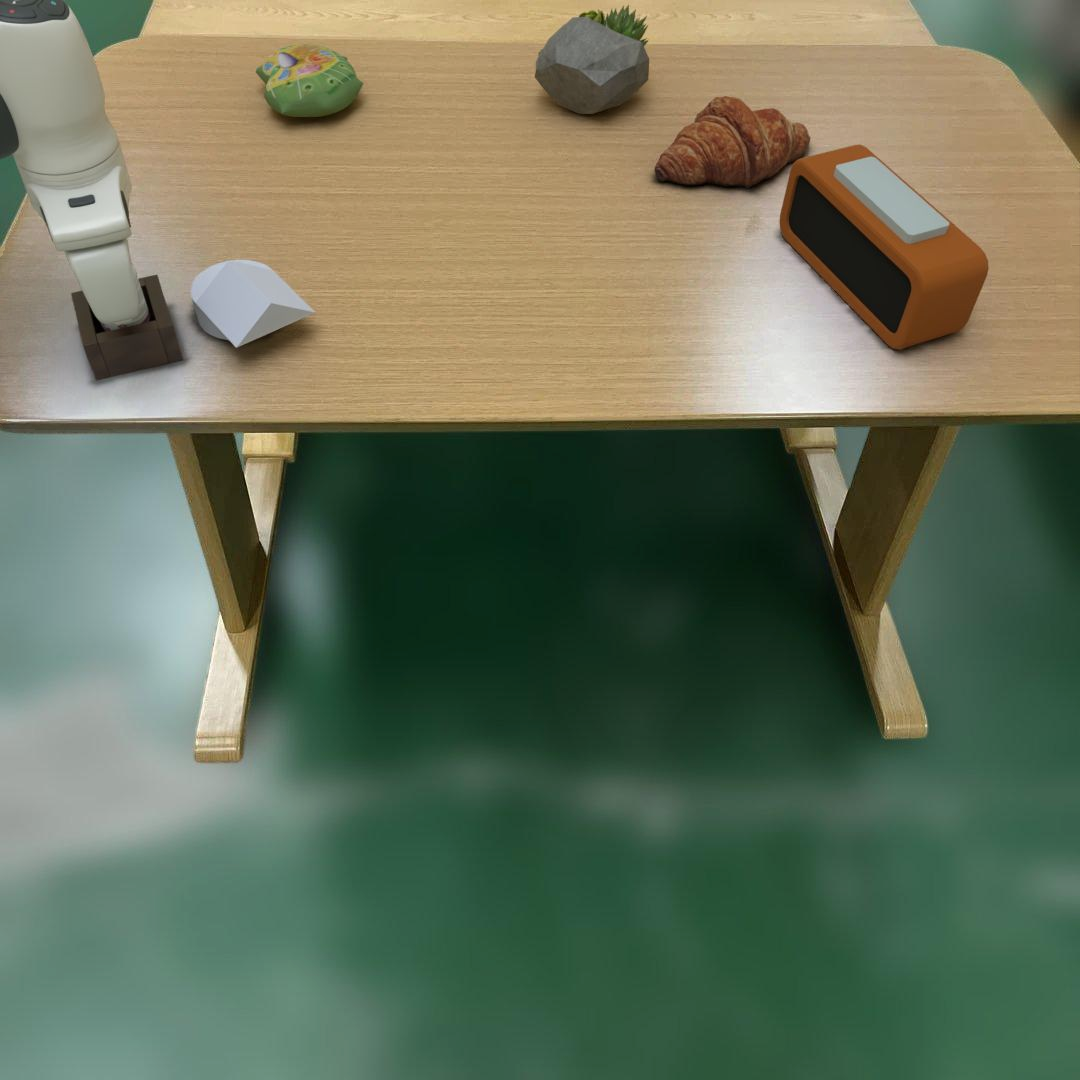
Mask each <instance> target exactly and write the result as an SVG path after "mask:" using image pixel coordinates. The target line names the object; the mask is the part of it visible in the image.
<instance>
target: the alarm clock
mask: <svg viewBox="0 0 1080 1080" xmlns="http://www.w3.org/2000/svg"><path fill="white" fill-rule="evenodd" d="M779 214H780V215H779V229H780V231H781V234H782V237H783V238H784V239H785V241H786V242H787V243H788V244H789V245H790V246H791V247H792V248H793V249H794V250H795V251H796V253H798V254H799V255H800V256H801V257H802V259H804V260H805V262H807V263H808V264H809V265H810V266H811V268H813V270H814V271H815V272H816V273H817V274H818V275H819V276H820V278H822V279H823V280H824V281H825V282H826V283H827V284H828V285H829V286H830V287H831V288H832V290H834V291H835V292H836V294H838V295H839V296H840V297H841V299H842V300H843V301H844V302H845V303H846V304H847V305H848V306H849V307H850V308H851V309H852V310H853V311H854V312H855V313H856V314H857V315H858V317H860V318H861V319H862V320H863V321H864V322H865V323H866V324H867V325H868V326H869V327H870V328H871V329H872V331H874V333H875V334H876V335H877V336H878V337H879V338H880V339H881V340H883V342H884V343H885V344H886V345H887V346H888V347H890V348H891V349H893V350H903V349H905V348H909V347H912V346H915V345H918V344H919V345H920V344H922V343H925V342H928V341H931V340H933V339H937V338H941V337H943V336H947V335H950V334H953V333H956V332H959V331H962V330H963V329H964V328H965V327H966V325H967V324H968V322H969V320H970V317H971V315H972V313H973V310H974V308H975V306H976V304H977V301H978V298H979V296H980V293H981V291H982V289H983V287H984V284H985V282H986V279H987V277H988V273H989V268H990V267H989V260H988V257H987V254H986V252H985V251H984V250H983V248H981V247H980V245H978V244H977V243H976V242H975V241H974V240H972V239H971V237H969V236H968V235H967V234H966V233H964V232H963V230H961V229H960V228H959V227H958V226H956V224H954V223H953V222H952V221H951V220H950V219H949V218H947V217H946V216H945V215H944V214H943V213H942V212H941V211H940V210H938V209H937V208H936V207H935V206H934V205H932V204H931V203H930V202H929V201H928V200H927V199H926V198H925V197H924V196H923V195H921V194H920V193H919V192H918V191H917V190H916V189H914V188H913V187H912V186H911V185H910V184H909V183H908V182H906V181H905V180H904V179H903V178H902V177H901V176H899V174H898V173H896V172H895V170H893V169H892V168H890V167H889V166H888V165H887V164H886V163H885V162H884V161H883V160H881V159H880V158H879V157H878V156H877V155H876V154H874V153H873V152H872V151H871V150H870V149H869V148H868V147H867V146H865V145H863V144H861V143H859V144H853V145H849V146H845V147H841V148H837V149H834V150H829V151H826V152H821V153H817V154H813V155H809V156H805V157H802V158H801V157H800V158H798V159H796V160H795V161H793V163H792V165H791V167H790V170H789V175H788V179H787V182H786V188H785V192H784V197H783V201H782V205H781V209H780V213H779Z"/></svg>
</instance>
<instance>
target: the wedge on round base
mask: <svg viewBox="0 0 1080 1080" xmlns="http://www.w3.org/2000/svg"><path fill="white" fill-rule="evenodd" d="M190 296H191V300H192V303H193V307H194V311H195V315H196V319H197V322H198V325H199V327H200V328H201V329H202V331H204V332H206V333H207V334H208V335H210V336H212V337H214V338H217V339H221V340H225V341H229V342H230V343H231V344H232V345H233V346H234V347H235V348H236V349H237V348H239V347H241V346H243V345H245V344H248V343H251V342H253V341H255V340H258V339H260V338H261V337H264V336H267V335H268V334H271V333H273V332H275V331H277V330H279V329H282V328H284V327H286V326H289V325H291V324H293V323H295V322H298V321H300V320H302V319H305V318H306V317H309V316H311V315H314V314H316V311H315V310H314V309H313V308H312V307H311V306H310V305H309V304H308V303H307V302H306V301H305V300H304V299H303V298H302V297H301V296H300V295H299V294H298V293H297V292H296V291H295V290H294V289H293V288H292V287H291V286H290V285H289V284H288V283H286V281H285V280H284V279H282V278H281V276H279V274H277V272H276V271H274V269H273V268H271V267H270V266H268V265H267V264H264V263H263V262H259V261H257V260H251V259H250V260H249V259H232V260H231V259H228V260H227V261H222V262H218V263H216V264H213V265H211V266H209V267H207V268H205V269H204V270H203V271H202V270H201V272H200V273H198V275H196V277H195V278H194V279H193V281H192V283H191V286H190Z"/></svg>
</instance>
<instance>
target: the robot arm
mask: <svg viewBox="0 0 1080 1080" xmlns="http://www.w3.org/2000/svg"><path fill="white" fill-rule="evenodd" d="M103 85H104V84H103V82H102V80H101V76H100V73H99V69H98V66H97V64H96V60H95V57H94V55H93V52H92V50H91V47H90V44H89V42H88V39H87V37H86V35H85V32H84V30H83V28H82V26H81V23H80V22H79V20H78V18H77V17H76V15H75V13H74V12H73V10H72V8H71V7H70V6H69V5H68V3H67V2H66V1H65V0H0V160H2V159H5V158H8V157H10V156H12V157H13V160H14V162H15V165H16V167H17V170H18V172H19V175H20V178H21V180H22V184H23V186H24V189H25V191H26V194H27V197H28V199H29V201H30V204H31V206H32V207H33V209H34V210H35V211H36V212H37V214H38V216H40V218H41V220H42V221H43V222H44V224H45V226H46V228H47V230H48V234H49V236H50V239H51V241H52V243H53V245H54V247H55V250H56V251H57V252H64V254H65V256H66V258H67V261H68V263H69V265H70V268H71V270H72V272H73V275H74V276H75V278H76V281H77V282H78V285H79V286H80V289H81V291H83V293H84V295H85V297H86V299H87V301H88V303H89V305H90V307H91V309H92V311H93V313H94V314H95V316H96V317H97V319H98V320H99V321H100V322H101V323H103V324H108V323H115V324H118V325H119V324H124V323H128V322H131V321H132V319H133V318H134V317H136V316H138V314H139V302H138V295H137V290H136V285H135V279H134V274H133V268H132V264H133V262H132V258H131V253H130V248H129V241H128V239H129V238H131V237H132V235H133V234H132V230H131V228H132V225H131V220H130V211H129V207H130V198H131V192H132V187H133V185H132V180H131V177H130V172H129V170H128V167H127V164H126V160H125V157H124V153H123V150H122V147H121V142H120V139H119V137H118V134H117V133H118V132H117V131H116V129H115V127H114V125H113V124H112V123H111V121H110V120H109V118H108V114H107V112H106V107H105V105H106V95H105V90H104V86H103ZM131 262H132V263H131Z"/></svg>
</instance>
